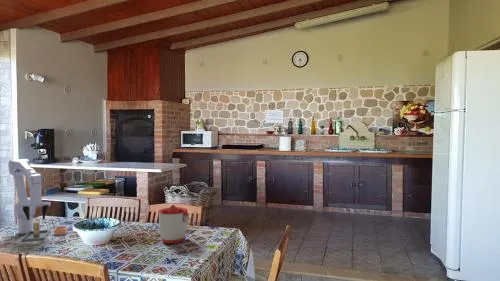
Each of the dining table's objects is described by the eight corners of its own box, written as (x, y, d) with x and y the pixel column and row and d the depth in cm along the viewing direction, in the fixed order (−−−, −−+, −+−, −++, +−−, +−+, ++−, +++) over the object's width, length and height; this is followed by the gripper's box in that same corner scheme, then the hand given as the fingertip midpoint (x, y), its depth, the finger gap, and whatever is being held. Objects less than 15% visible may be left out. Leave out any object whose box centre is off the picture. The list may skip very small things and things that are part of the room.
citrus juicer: (184, 246, 190) (183, 208, 189) (153, 244, 193) (153, 207, 192) (194, 237, 205) (194, 202, 204) (166, 235, 208) (165, 201, 208)
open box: (56, 233, 212) (56, 226, 212) (67, 232, 214) (67, 225, 214) (54, 236, 207) (54, 229, 207) (65, 235, 209) (65, 228, 208)
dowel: (34, 235, 206) (33, 222, 205) (40, 235, 207) (39, 221, 206) (32, 237, 203) (32, 223, 203) (38, 236, 204) (38, 222, 203)
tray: (29, 234, 211) (29, 231, 211) (50, 232, 214) (50, 229, 214) (21, 242, 196) (21, 239, 195) (44, 240, 199) (44, 237, 199)
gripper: (18, 197, 198) (19, 222, 198) (48, 196, 202) (48, 220, 203) (22, 195, 205) (23, 218, 205) (51, 193, 209) (51, 217, 210)
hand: (36, 219), depth 204 cm, fingers open, 7 cm apart
